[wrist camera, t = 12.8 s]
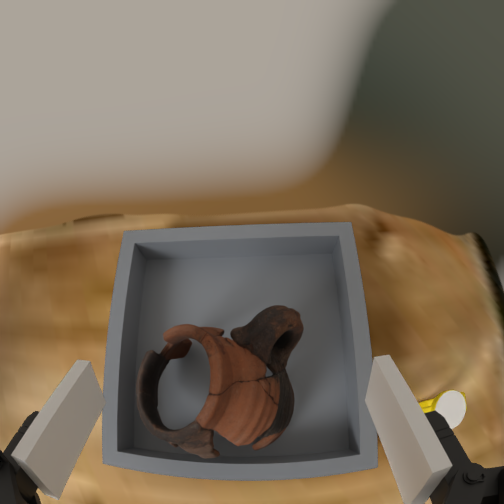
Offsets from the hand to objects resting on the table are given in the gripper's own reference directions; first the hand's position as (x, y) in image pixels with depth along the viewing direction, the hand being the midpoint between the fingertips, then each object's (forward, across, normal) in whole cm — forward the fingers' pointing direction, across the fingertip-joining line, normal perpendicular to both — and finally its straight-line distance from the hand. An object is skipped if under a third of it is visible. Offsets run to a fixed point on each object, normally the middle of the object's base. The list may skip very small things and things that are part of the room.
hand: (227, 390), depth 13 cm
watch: (+5, +14, -9) cm, 17 cm away
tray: (+10, 0, -5) cm, 11 cm away
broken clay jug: (+7, 0, -6) cm, 9 cm away
